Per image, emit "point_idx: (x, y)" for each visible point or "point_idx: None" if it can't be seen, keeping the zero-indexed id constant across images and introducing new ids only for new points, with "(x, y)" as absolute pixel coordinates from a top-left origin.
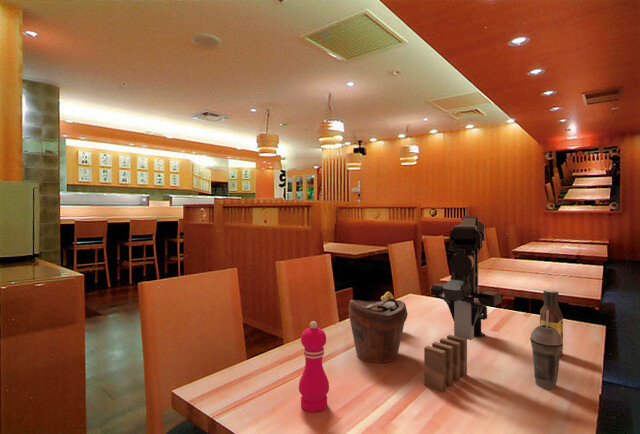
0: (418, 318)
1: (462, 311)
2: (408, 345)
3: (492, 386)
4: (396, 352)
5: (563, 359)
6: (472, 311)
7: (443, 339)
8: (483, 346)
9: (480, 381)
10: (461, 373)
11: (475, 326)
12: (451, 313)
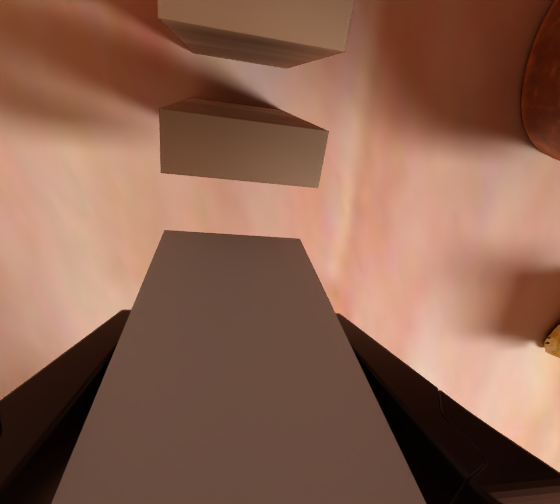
0: None
1: (246, 421)
2: (490, 249)
3: (40, 83)
4: (554, 55)
5: None
6: (7, 466)
7: (329, 1)
8: None
9: (110, 100)
10: (203, 99)
11: None
12: (393, 360)
